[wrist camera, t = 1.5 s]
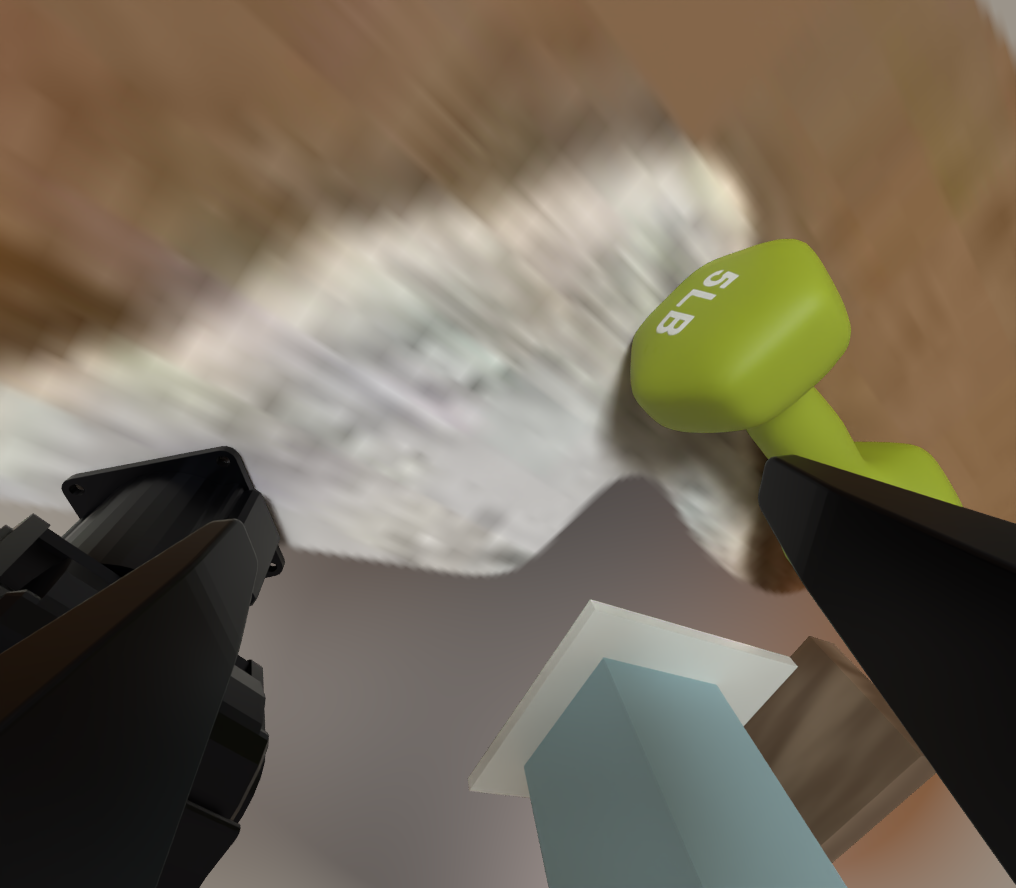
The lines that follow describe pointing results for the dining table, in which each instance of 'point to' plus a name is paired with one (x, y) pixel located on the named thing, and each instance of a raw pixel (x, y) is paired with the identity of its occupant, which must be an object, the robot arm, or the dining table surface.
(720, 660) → the plate
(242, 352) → the dining table surface
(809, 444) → the dumbbell
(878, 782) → the board
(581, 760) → the block
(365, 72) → the dining table surface
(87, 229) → the dining table surface
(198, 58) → the dining table surface
